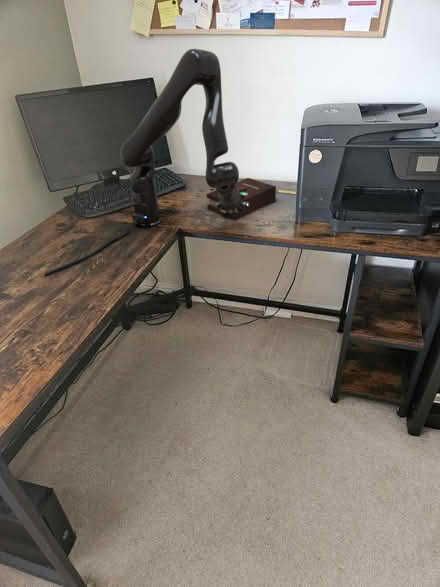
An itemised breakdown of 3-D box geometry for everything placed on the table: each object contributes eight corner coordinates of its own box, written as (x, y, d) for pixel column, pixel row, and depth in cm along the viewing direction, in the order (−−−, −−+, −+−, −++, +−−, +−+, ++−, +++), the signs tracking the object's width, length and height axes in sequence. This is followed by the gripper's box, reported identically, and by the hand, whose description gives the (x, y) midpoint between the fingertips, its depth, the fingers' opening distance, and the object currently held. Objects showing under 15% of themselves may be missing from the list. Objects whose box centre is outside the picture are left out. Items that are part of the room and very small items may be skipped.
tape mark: (296, 194, 182) (296, 193, 182) (277, 192, 185) (277, 191, 185) (297, 192, 184) (297, 191, 184) (279, 190, 187) (279, 189, 187)
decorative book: (281, 183, 173) (231, 205, 157) (281, 200, 177) (232, 222, 162) (249, 174, 185) (200, 193, 169) (250, 189, 189) (201, 209, 174)
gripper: (248, 185, 142) (253, 204, 159) (212, 185, 144) (220, 203, 161) (247, 206, 141) (251, 222, 158) (210, 205, 143) (218, 221, 160)
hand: (235, 212), depth 159 cm, fingers closed
